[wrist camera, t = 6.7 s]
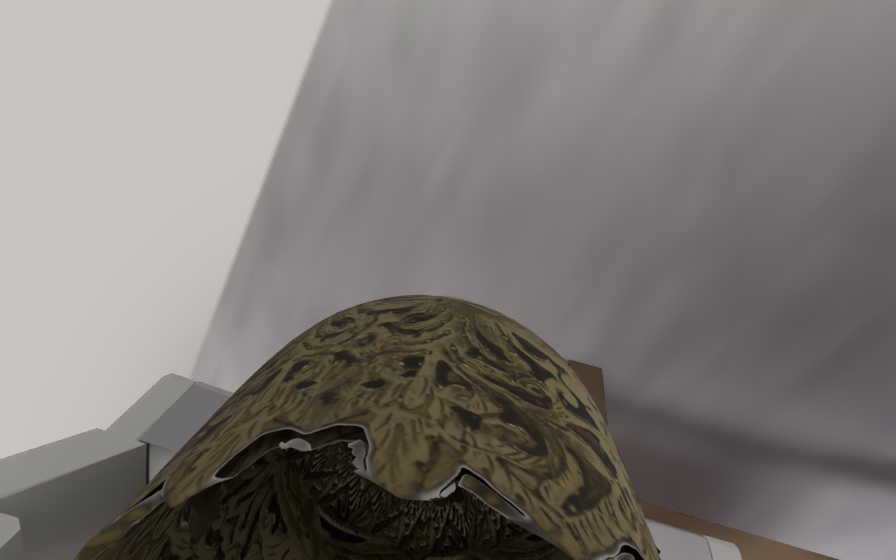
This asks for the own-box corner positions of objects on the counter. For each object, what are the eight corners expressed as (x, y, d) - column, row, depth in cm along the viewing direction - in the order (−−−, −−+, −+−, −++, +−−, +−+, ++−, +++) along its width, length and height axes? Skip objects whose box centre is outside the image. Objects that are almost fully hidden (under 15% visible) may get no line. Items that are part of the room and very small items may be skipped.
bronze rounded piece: (324, 486, 16) (167, 890, 9) (245, 219, 13) (-88, 506, 6) (620, 475, 15) (711, 928, 8) (608, 179, 12) (738, 475, 5)
